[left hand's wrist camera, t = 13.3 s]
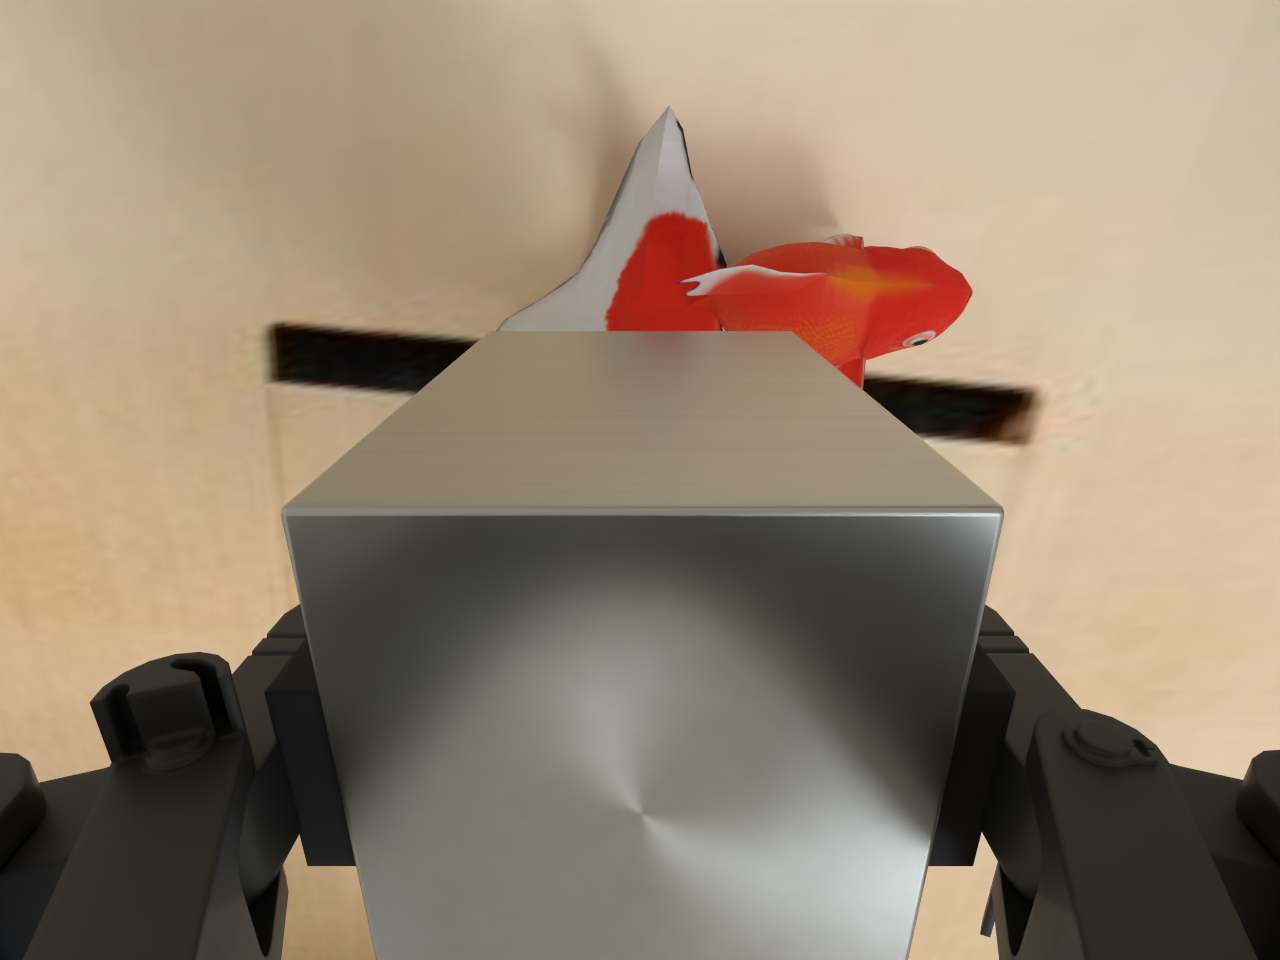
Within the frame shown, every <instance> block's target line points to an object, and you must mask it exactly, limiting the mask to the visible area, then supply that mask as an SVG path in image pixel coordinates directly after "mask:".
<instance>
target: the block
mask: <svg viewBox="0 0 1280 960" xmlns="http://www.w3.org/2000/svg"><path fill="white" fill-rule="evenodd" d="M281 516H282V521H283V526H284V530H285V535H286V540H287V544H288V549H289V554H290V558H291V563H292V568H293V572H294V577H295V582H296V586H297V591H298V596H299V600H300V605H301V610H302V614H303V619H304V624H305V629H306V633H307V638H308V643H309V647H310V652H311V657H312V661H313V666H314V671H315V675H316V680H317V685H318V689H319V694H320V699H321V703H322V708H323V713H324V717H325V722H326V727H327V731H328V736H329V741H330V746H331V750H332V755H333V760H334V764H335V769H336V774H337V778H338V783H339V788H340V792H341V797H342V802H343V806H344V811H345V816H346V820H347V825H348V830H349V834H350V839H351V844H352V848H353V853H354V858H355V863H356V867H357V872H358V877H359V881H360V886H361V891H362V895H363V900H364V905H365V909H366V914H367V919H368V923H369V928H370V933H371V937H372V942H373V947H374V951H375V956H376V960H908V957H909V952H910V947H911V943H912V938H913V934H914V929H915V924H916V920H917V915H918V911H919V906H920V901H921V897H922V892H923V887H924V883H925V878H926V874H927V869H928V864H929V860H930V855H931V851H932V846H933V841H934V837H935V832H936V828H937V823H938V818H939V814H940V809H941V804H942V800H943V795H944V791H945V786H946V781H947V777H948V772H949V768H950V763H951V758H952V754H953V749H954V745H955V740H956V735H957V731H958V726H959V722H960V717H961V712H962V708H963V703H964V698H965V694H966V689H967V685H968V680H969V675H970V671H971V666H972V662H973V657H974V652H975V648H976V643H977V639H978V634H979V629H980V625H981V620H982V615H983V611H984V606H985V602H986V597H987V592H988V588H989V583H990V579H991V574H992V569H993V565H994V560H995V556H996V551H997V546H998V542H999V537H1000V533H1001V528H1002V523H1003V519H1004V511H1003V508H1002V506H1001V505H1000V504H998V503H997V502H996V501H995V500H994V499H992V498H991V497H990V496H989V495H988V494H986V493H985V492H984V491H983V490H982V489H980V488H979V487H978V486H977V485H976V484H974V483H973V482H972V481H971V480H970V479H969V478H967V477H966V476H965V475H964V474H963V473H961V472H960V471H959V470H958V469H957V468H955V467H954V466H953V465H952V464H951V463H949V462H948V461H947V460H946V459H945V458H943V457H942V456H941V455H940V454H939V453H937V452H936V451H935V450H934V449H933V448H931V447H930V446H929V445H928V444H927V443H925V442H924V441H923V440H922V439H921V438H919V437H918V436H917V435H916V434H915V433H913V432H912V431H911V430H910V429H909V428H908V427H906V426H905V425H904V424H903V423H902V422H900V421H899V420H898V419H897V418H896V417H894V416H893V415H892V414H891V413H890V412H888V411H887V410H886V409H885V408H884V407H882V406H881V405H880V404H879V403H878V402H876V401H875V400H874V399H873V398H872V397H870V396H869V395H868V394H867V393H866V392H864V391H863V390H862V389H861V388H860V387H858V386H857V385H856V384H855V383H854V382H852V381H851V380H850V379H849V378H848V377H847V376H845V375H844V374H843V373H842V372H841V371H839V370H838V369H837V368H836V367H835V366H833V365H832V364H831V363H830V362H829V361H827V360H826V359H825V358H824V357H823V356H821V355H820V354H819V353H818V352H817V351H815V350H814V349H813V348H812V347H811V346H809V345H808V344H807V343H806V342H805V341H803V340H802V339H801V338H800V337H799V336H797V335H796V334H795V333H794V332H792V331H491V332H488V333H487V334H486V335H485V336H484V337H483V338H481V339H480V340H479V341H478V342H477V343H476V344H474V345H473V346H472V347H471V348H470V349H468V350H467V351H466V352H465V353H464V354H463V355H461V356H460V357H459V358H458V359H457V360H456V361H454V362H453V363H452V364H451V365H450V366H448V367H447V368H446V369H445V370H444V371H443V372H441V373H440V374H439V375H438V376H437V377H435V378H434V379H433V380H432V381H431V382H430V383H428V384H427V385H426V386H425V387H424V388H423V389H421V390H420V391H419V392H418V393H417V394H415V395H414V396H413V397H412V398H411V399H410V400H408V401H407V402H406V403H405V404H404V405H402V406H401V407H400V408H399V409H398V410H397V411H395V412H394V413H393V414H392V415H391V416H390V417H388V418H387V419H386V420H385V421H384V422H382V423H381V424H380V425H379V426H378V427H377V428H375V429H374V430H373V431H372V432H371V433H370V434H368V435H367V436H366V437H365V438H364V439H362V440H361V441H360V442H359V443H358V444H357V445H355V446H354V447H353V448H352V449H351V450H349V451H348V452H347V453H346V454H345V455H344V456H342V457H341V458H340V459H339V460H338V461H337V462H335V463H334V464H333V465H332V466H331V467H329V468H328V469H327V470H326V471H325V472H324V473H322V474H321V475H320V476H319V477H318V478H316V479H315V480H314V481H313V482H312V483H311V484H309V485H308V486H307V487H306V488H305V489H304V490H302V491H301V492H300V493H299V494H298V495H296V496H295V497H294V498H293V499H292V500H291V501H289V502H288V503H287V504H286V505H285V506H284V507H283V509H282V515H281Z"/></svg>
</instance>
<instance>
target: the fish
mask: <svg viewBox="0 0 1280 960" xmlns="http://www.w3.org/2000/svg"><path fill="white" fill-rule="evenodd" d="M726 265H727V264H726V262H725V259H724V257H723V254H722V252H721V249H720V247H719V244H718V242H717V239H716V237H715V234H714V232H713V230H712V227H711V225H710V222H709V219H708V216H707V213H706V209H705V206H704V203H703V200H702V198H701V195H700V193H699V191H698V188H697V186H696V184H695V181H694V179H693V177H692V174H691V169H690V163H689V158H688V153H687V148H686V142H685V137H684V132H683V128H682V127H681V125H680V123H679V122H678V120H677V118H676V117H675V115H674V113H673V111H672V110H671V108H670V106H669V107H668V108H667V109H666V110H665V112H664V113H663V114H662V115H661V117H660V118H659V119H658V120H657V121H656V123H655V124H654V125H653V126H652V128H651V129H650V130H649V131H648V133H647V134H646V135H645V136H644V138H643V139H642V140H641V141H640V142H639V144H638V146H637V149H636V151H635V153H634V155H633V158H632V160H631V162H630V165H629V167H628V169H627V171H626V174H625V176H624V178H623V180H622V183H621V185H620V187H619V189H618V192H617V194H616V196H615V199H614V201H613V203H612V205H611V208H610V210H609V212H608V215H607V217H606V219H605V222H604V224H603V226H602V229H601V231H600V233H599V236H598V238H597V240H596V242H595V244H594V246H593V248H592V249H591V251H590V253H589V255H588V257H587V258H586V260H585V262H584V264H583V266H582V268H581V269H580V271H579V273H577V274H576V275H575V276H573V277H572V278H570V279H569V280H567V281H566V282H565V283H563V284H562V285H560V286H559V287H558V288H556V289H555V290H553V291H552V292H550V293H549V294H548V295H546V296H545V297H543V298H542V299H541V300H539V301H538V302H536V303H534V304H532V305H530V306H528V307H526V308H524V309H522V310H521V311H519V312H517V313H515V314H514V315H512V316H511V317H509V318H507V319H506V320H505V321H504V322H503V323H502V324H501V325H500V327H499V328H498V329H497V330H496V331H723V329H725V331H792V332H794V333H795V334H796V335H797V336H799V337H800V338H801V339H802V340H803V341H805V342H806V343H807V344H808V345H809V346H811V347H812V348H813V349H814V350H815V351H817V352H818V353H819V354H820V355H821V356H823V357H824V358H825V359H826V360H827V361H829V362H830V363H831V364H832V365H833V366H835V367H836V368H837V369H838V370H839V371H841V372H842V373H843V374H844V375H845V376H847V377H848V378H849V379H850V380H851V381H852V382H854V383H855V384H856V385H857V386H858V387H860V388H861V389H862V390H863V383H864V373H865V361H866V360H868V359H872V358H875V357H878V356H880V355H883V354H886V353H890V352H893V351H897V350H901V349H905V348H909V347H913V346H917V345H921V344H924V343H926V342H928V341H930V340H932V339H934V338H935V337H937V336H939V335H940V334H941V333H942V332H943V331H945V330H946V329H947V328H948V327H949V326H950V325H951V324H952V323H953V322H954V321H955V320H956V319H957V318H958V317H959V316H960V315H961V313H962V312H963V311H964V309H965V307H966V305H967V303H968V301H969V299H970V297H971V295H972V292H973V291H972V289H971V287H970V285H969V284H968V282H967V281H966V279H965V278H964V276H963V274H962V273H960V272H959V271H958V270H956V269H954V268H952V267H951V266H949V265H948V264H946V263H945V262H944V261H942V260H941V259H940V258H939V257H938V256H937V255H936V254H935V253H934V252H933V251H931V250H930V249H928V248H925V247H921V246H916V247H909V248H905V249H898V248H891V247H876V246H868V247H864V242H863V237H858V236H853V235H850V234H843V235H839V236H834V237H831V238H829V239H827V240H825V241H824V242H822V243H821V242H809V243H794V244H786V245H782V246H777V247H773V248H770V249H766V250H762V251H760V252H757V253H754V254H752V255H751V256H749V257H747V258H746V259H744V260H743V261H741V262H740V263H739V264H737V265H736V266H735V267H732V268H726Z"/></svg>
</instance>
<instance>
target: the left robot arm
mask: <svg viewBox="0 0 1280 960" xmlns="http://www.w3.org/2000/svg"><path fill="white" fill-rule="evenodd" d="M90 705H91V708H92V711H93V713H94V716H95V719H96V721H97V724H98V727H99V729H100V732H101V735H102V738H103V740H104V743H105V746H106V748H107V751H108V754H109V757H110V759H111V762H112V763H111V765H110V767H107V768H104V769H100V770H95V771H91V772H86V773H81V774H77V775H72V776H68V777H63V778H59V779H54V780H50V781H45V782H40V783H39V782H38V780H37V778H36V775H35V773H34V771H33V768H32V766H31V764H30V762H29V761H28V760H26V759H25V758H23V757H22V756H20V755H19V754H12V753H0V960H281V955H282V946H283V936H284V927H285V918H286V909H287V900H288V886H287V880H286V875H285V871H284V867H283V863H284V861H285V859H286V858H287V856H288V854H289V852H290V850H291V848H292V846H293V845H294V843H295V841H296V839H297V837H298V835H299V834H300V838H301V842H302V846H303V850H304V854H305V858H306V862H307V866H356V863H355V858H354V853H353V848H352V844H351V839H350V834H349V830H348V825H347V820H346V816H345V811H344V806H343V802H342V797H341V792H340V788H339V783H338V778H337V774H336V769H335V764H334V760H333V755H332V750H331V746H330V741H329V736H328V731H327V727H326V722H325V717H324V713H323V708H322V703H321V699H320V694H319V689H318V685H317V680H316V675H315V671H314V666H313V661H312V657H311V652H310V647H309V643H308V638H307V633H306V629H305V624H304V619H303V614H302V610H301V605H300V604H299V605H298V606H296V607H295V608H293V609H292V610H290V611H288V612H287V613H285V614H284V615H283V616H282V617H281V619H280V620H279V621H278V622H277V623H276V624H275V626H274V627H273V628H272V629H271V630H270V631H269V632H268V634H267V638H263V639H262V641H261V642H260V643H259V644H258V645H257V646H256V647H255V649H254V650H253V651H252V656H248V657H247V658H246V659H245V660H244V661H243V662H242V664H241V665H240V666H239V667H238V668H237V669H236V671H235V672H234V673H233V674H231V670H230V666H229V663H228V662H227V661H225V660H224V659H223V658H221V657H220V656H219V655H215V654H209V653H203V652H194V653H183V654H174V655H171V656H167V657H163V658H160V659H156V660H152V661H149V662H147V663H145V664H142V665H140V666H138V667H136V668H133V669H131V670H129V671H127V672H124V673H123V674H121V675H120V676H118V677H117V678H116V679H114V680H113V681H111V682H110V683H108V684H107V685H105V686H104V687H103V688H102V689H101V690H100V691H99V692H98V693H97V695H96V696H95V697H94V698H93V699H92V700H91V701H90ZM981 832H982V833H983V835H984V836H985V838H986V840H987V842H988V844H989V846H990V847H991V849H992V851H993V853H994V855H995V857H996V858H997V860H998V864H997V867H996V871H995V875H994V879H993V882H992V886H991V890H990V893H989V897H988V901H987V905H986V908H985V912H984V916H983V920H982V926H981V932H980V934H981V935H984V936H987V937H990V936H991V932H992V928H993V925H994V921H995V925H996V934H997V943H998V953H999V960H1280V750H1271V751H1263V752H1262V753H1260V754H1259V755H1257V756H1256V757H1254V758H1253V759H1252V761H1251V763H1250V765H1249V768H1248V770H1247V772H1246V775H1245V777H1244V779H1243V780H1240V779H1236V778H1231V777H1226V776H1222V775H1217V774H1213V773H1208V772H1204V771H1199V770H1194V769H1190V768H1185V767H1181V766H1177V765H1173V764H1170V763H1169V762H1168V760H1167V759H1166V758H1165V756H1164V755H1163V754H1162V752H1161V751H1160V750H1159V748H1158V747H1157V745H1155V744H1154V743H1153V742H1152V741H1150V740H1149V739H1148V738H1147V737H1145V736H1144V735H1143V734H1141V733H1140V732H1139V731H1138V730H1136V729H1134V728H1132V727H1130V726H1128V725H1126V724H1124V723H1123V722H1121V721H1119V720H1117V719H1115V718H1113V717H1110V716H1106V715H1103V714H1100V713H1097V712H1093V711H1090V710H1086V709H1081V708H1080V707H1079V706H1078V705H1077V703H1076V702H1075V701H1074V700H1073V699H1072V698H1071V697H1070V695H1069V694H1068V693H1067V692H1066V691H1065V690H1064V689H1063V687H1062V686H1061V685H1060V684H1059V683H1058V682H1057V680H1056V679H1055V678H1054V677H1053V676H1052V675H1051V674H1050V672H1049V671H1048V670H1047V669H1046V668H1045V667H1044V666H1043V664H1042V663H1041V662H1040V661H1039V660H1038V659H1037V658H1036V656H1035V655H1034V654H1033V653H1029V648H1028V647H1027V646H1026V645H1025V644H1024V643H1023V642H1022V640H1021V639H1020V638H1019V637H1018V636H1014V631H1013V630H1012V629H1011V628H1010V627H1009V625H1008V624H1007V623H1006V622H1005V621H1004V620H1003V619H1002V617H1001V616H1000V615H999V614H998V613H997V612H996V611H995V610H993V609H991V608H990V607H988V606H987V605H985V606H984V611H983V615H982V620H981V625H980V629H979V634H978V639H977V643H976V648H975V652H974V657H973V662H972V666H971V671H970V675H969V680H968V685H967V689H966V694H965V698H964V703H963V708H962V712H961V717H960V722H959V726H958V731H957V735H956V740H955V745H954V749H953V754H952V758H951V763H950V768H949V772H948V777H947V781H946V786H945V791H944V795H943V800H942V804H941V809H940V814H939V818H938V823H937V828H936V832H935V837H934V841H933V846H932V851H931V855H930V860H929V864H928V866H973V864H974V860H975V856H976V852H977V848H978V844H979V840H980V836H981Z"/></svg>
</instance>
